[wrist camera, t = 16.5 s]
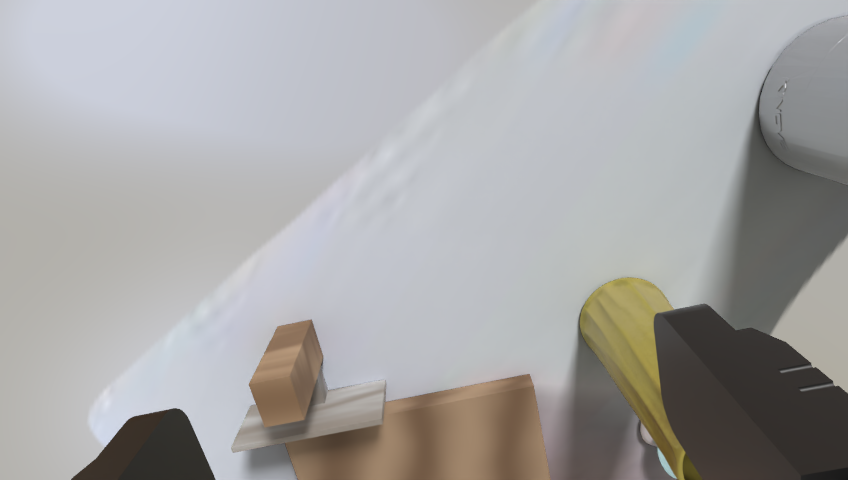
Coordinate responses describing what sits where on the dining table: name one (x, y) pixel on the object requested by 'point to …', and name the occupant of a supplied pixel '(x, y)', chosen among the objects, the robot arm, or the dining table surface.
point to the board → (437, 439)
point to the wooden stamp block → (303, 395)
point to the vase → (634, 357)
